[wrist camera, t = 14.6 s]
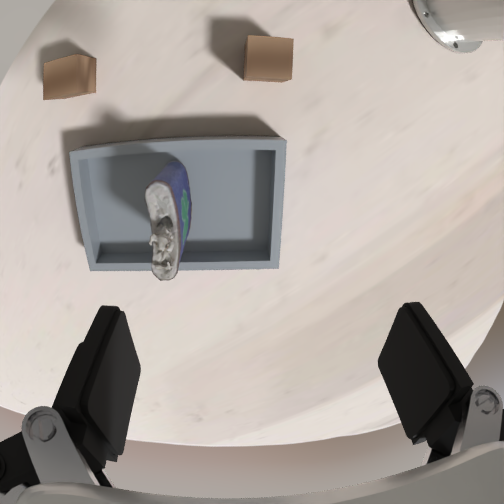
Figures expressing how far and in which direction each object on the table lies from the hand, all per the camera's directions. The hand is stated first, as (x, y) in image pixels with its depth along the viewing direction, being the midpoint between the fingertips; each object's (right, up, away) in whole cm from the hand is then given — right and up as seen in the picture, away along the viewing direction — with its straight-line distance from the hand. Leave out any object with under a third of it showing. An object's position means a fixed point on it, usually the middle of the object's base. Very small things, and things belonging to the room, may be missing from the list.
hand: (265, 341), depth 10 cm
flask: (-8, +8, +23) cm, 26 cm away
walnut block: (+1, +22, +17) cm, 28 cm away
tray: (-9, +9, +23) cm, 26 cm away
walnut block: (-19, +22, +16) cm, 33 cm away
